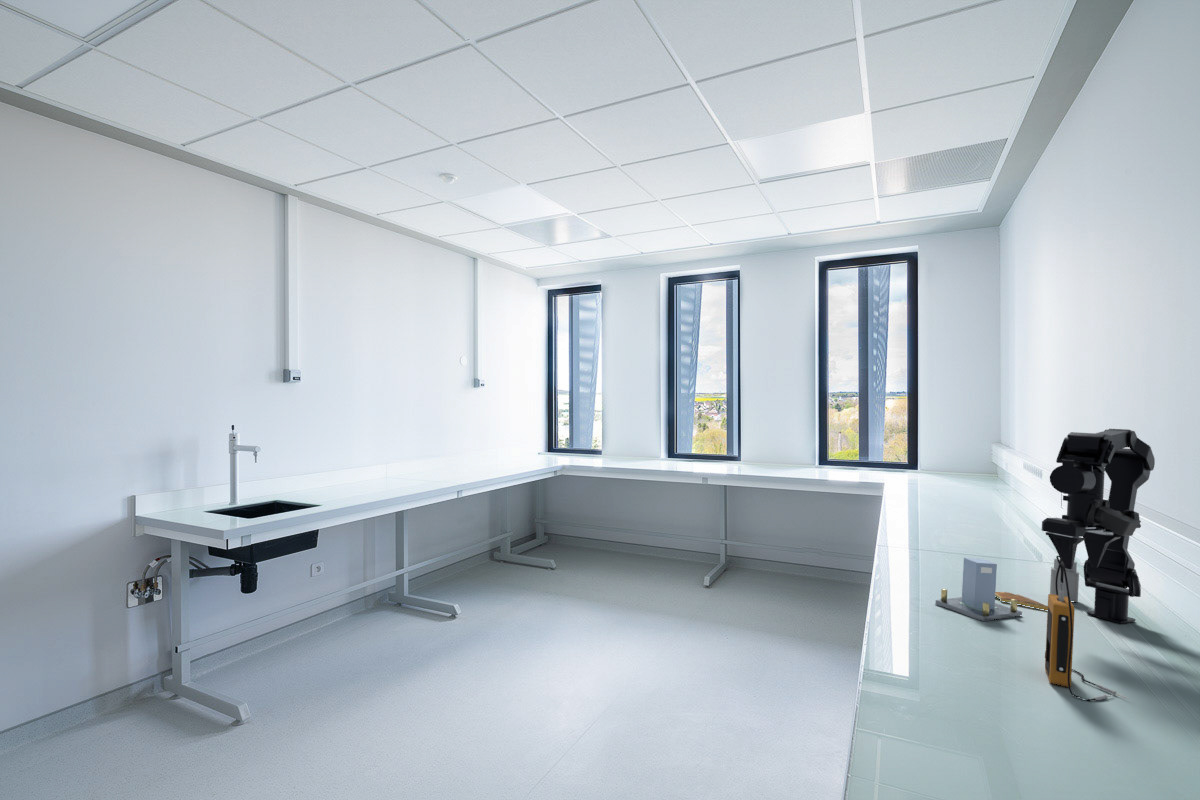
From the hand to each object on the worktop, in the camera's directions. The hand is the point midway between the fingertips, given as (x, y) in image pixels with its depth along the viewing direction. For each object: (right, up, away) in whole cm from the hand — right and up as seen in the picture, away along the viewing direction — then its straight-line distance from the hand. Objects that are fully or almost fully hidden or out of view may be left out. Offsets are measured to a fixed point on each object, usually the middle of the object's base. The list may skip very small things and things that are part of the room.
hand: (1081, 567), depth 122 cm
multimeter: (-22, -12, -27) cm, 37 cm away
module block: (-15, -11, +10) cm, 21 cm away
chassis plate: (-15, -12, +10) cm, 22 cm away
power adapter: (+14, -15, +23) cm, 30 cm away
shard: (0, -14, +18) cm, 23 cm away
